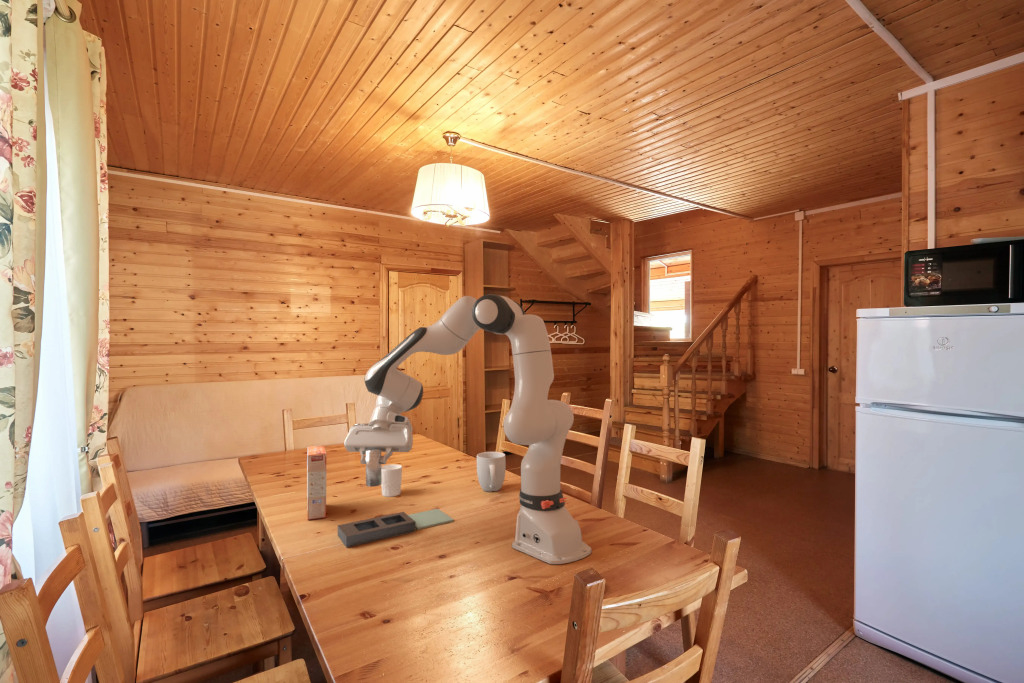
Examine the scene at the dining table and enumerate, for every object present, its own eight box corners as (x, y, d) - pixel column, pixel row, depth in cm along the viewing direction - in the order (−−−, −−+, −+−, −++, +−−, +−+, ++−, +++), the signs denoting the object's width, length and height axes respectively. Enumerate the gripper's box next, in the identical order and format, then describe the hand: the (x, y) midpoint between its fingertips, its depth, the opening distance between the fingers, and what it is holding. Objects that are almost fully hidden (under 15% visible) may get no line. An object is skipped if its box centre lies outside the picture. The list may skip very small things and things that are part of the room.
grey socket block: (415, 531, 145) (415, 521, 145) (346, 547, 134) (346, 536, 134) (403, 521, 153) (403, 511, 153) (337, 535, 142) (337, 525, 142)
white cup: (399, 497, 177) (399, 469, 177) (377, 497, 177) (377, 469, 177) (404, 490, 185) (404, 464, 185) (383, 490, 185) (383, 464, 185)
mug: (508, 496, 177) (508, 460, 177) (478, 497, 175) (478, 461, 175) (503, 484, 192) (503, 451, 192) (475, 485, 190) (475, 452, 190)
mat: (453, 521, 153) (453, 519, 153) (417, 529, 146) (417, 527, 146) (437, 510, 163) (437, 508, 163) (403, 517, 156) (403, 515, 156)
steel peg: (383, 484, 142) (383, 450, 142) (368, 487, 140) (368, 452, 140) (378, 481, 146) (378, 447, 146) (364, 483, 144) (363, 449, 144)
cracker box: (327, 518, 157) (326, 452, 157) (307, 520, 154) (306, 454, 154) (326, 504, 170) (325, 444, 170) (307, 507, 167) (306, 446, 167)
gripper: (348, 417, 151) (334, 456, 141) (413, 417, 149) (404, 457, 139) (354, 429, 155) (341, 468, 145) (417, 429, 153) (409, 468, 144)
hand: (372, 463), depth 142 cm, fingers closed on steel peg, 4 cm apart
